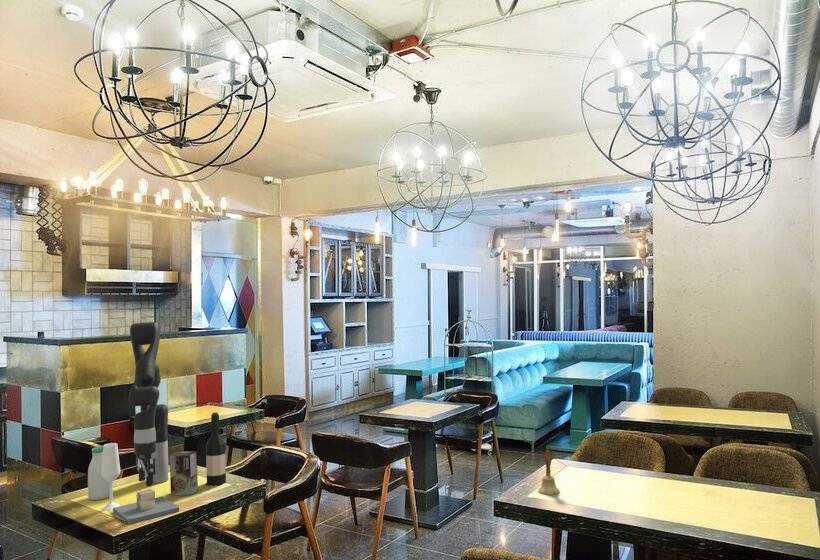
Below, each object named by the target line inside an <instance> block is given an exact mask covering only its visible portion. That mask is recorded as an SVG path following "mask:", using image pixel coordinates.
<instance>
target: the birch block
mask: <svg viewBox="0 0 820 560" xmlns="http://www.w3.org/2000/svg"><path fill="white" fill-rule="evenodd" d="M155 498H156V491H155V490H154V489H152V488H145V489H142V490H138V491H136V502H137V508H138V509H139V510H141V511H143V510H147V509H151V508H155Z"/></svg>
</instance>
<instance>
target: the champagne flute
mask: <svg viewBox="0 0 820 560" xmlns="http://www.w3.org/2000/svg"><path fill="white" fill-rule="evenodd" d="M102 447H103V458H102V469H101V476H102V478H103V479H105V480H106V481H107V482H109V497H108V498H109V499H108V500H109V502H108V503H107V504H106V505H104V506H103V507H101V510H102V511H105V510H108V511H113V508H115V507H119V506H120V504H119V503H116V502H114V488H113V486H114V485H113V482H114V481H116V480H117V479H118V478H119V476H120V474H121V466H120V458H119V457H120V456H119V449H118V448H119V447H118V443H116V442H110V443H105V444H103V446H102Z"/></svg>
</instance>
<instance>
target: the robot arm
mask: <svg viewBox="0 0 820 560" xmlns="http://www.w3.org/2000/svg"><path fill="white" fill-rule="evenodd" d="M129 337H130V341H131V342H130V343H131V346H132V351H133V357H134V366H135V370H134V372H135V373H134V382H133V384H132V386H131V388H130V390H129V393H128V403H129V404H130V405H131V406H132V407H140V408H139V409H140V412H137V413H135V414H134V418H133V419H134V421H133V422H134V432H133V448H134V449H133V451H134V452H133V453H134V455H135V458H136V459H135V469H136V470H137V472H138V482H144V481H145V483H146V484H145V485H146V486H147V487H152V486H154V484H161V483H164V482H167V481H168V480H169V446H168V444H169V442H168V441H169V439H168V436H169V435H168V434H169V432H168V425H169V424H168V422H169V408H168V406H167V405H166V404H163V403H162V404H161V403H160V404H158V402H159V399H160V390H159V387H160V384H161V382H162V381H161V371H160V366H159V365H158V364H157V356H158V350H159V346H160V340H161V329H160V326H159V323H158V322H156V321H149V322H148V321H145V322H135V323H132V324H131V325H130V328H129ZM147 345H149V346H148V348H147V349H146V351H145V349H144V347H143V346H147ZM158 426H159V428H158V429H157V430H156V427H158Z"/></svg>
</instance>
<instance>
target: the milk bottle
mask: <svg viewBox="0 0 820 560" xmlns="http://www.w3.org/2000/svg"><path fill="white" fill-rule="evenodd" d="M91 454H92V458H91V459H90V460H91V461H90V463H89V466H88V468H87V469H88V470H87V493H88V494H87V496H88V500H90V501H100V500H103V499H107V498H109V482H107V481H106V480H105V479H103V478H102V476H101V469H102V458H103V446H97V447H93V448H92V449H91Z"/></svg>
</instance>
